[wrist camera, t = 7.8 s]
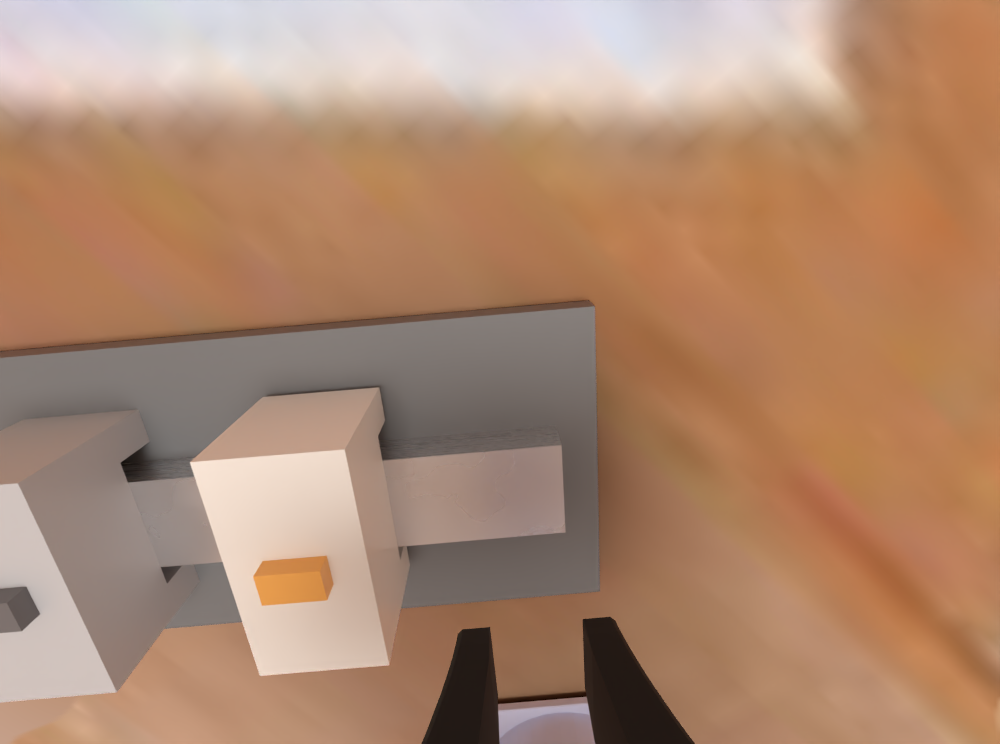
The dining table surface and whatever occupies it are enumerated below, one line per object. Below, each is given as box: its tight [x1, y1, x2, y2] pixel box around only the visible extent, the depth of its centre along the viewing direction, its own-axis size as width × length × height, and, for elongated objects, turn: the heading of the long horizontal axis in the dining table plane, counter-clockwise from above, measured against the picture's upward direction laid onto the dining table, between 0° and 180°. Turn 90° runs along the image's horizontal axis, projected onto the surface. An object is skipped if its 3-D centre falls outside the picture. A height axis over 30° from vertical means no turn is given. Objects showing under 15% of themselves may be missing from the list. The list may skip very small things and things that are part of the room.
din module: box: [190, 387, 410, 676], centre depth 16 cm, size 8×4×5 cm, turn 4°
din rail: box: [121, 426, 565, 567], centre depth 18 cm, size 4×19×2 cm, turn 95°
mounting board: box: [0, 300, 600, 629], centre depth 19 cm, size 12×22×1 cm, turn 95°
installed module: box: [0, 410, 199, 702], centre depth 16 cm, size 8×4×5 cm, turn 5°
